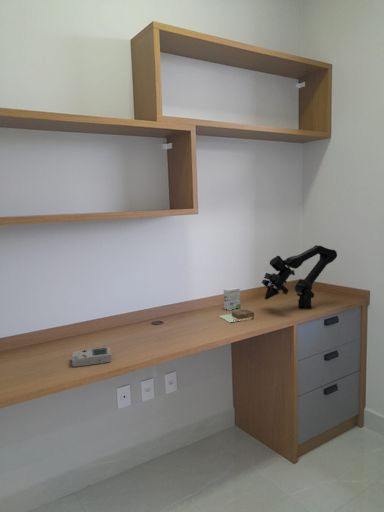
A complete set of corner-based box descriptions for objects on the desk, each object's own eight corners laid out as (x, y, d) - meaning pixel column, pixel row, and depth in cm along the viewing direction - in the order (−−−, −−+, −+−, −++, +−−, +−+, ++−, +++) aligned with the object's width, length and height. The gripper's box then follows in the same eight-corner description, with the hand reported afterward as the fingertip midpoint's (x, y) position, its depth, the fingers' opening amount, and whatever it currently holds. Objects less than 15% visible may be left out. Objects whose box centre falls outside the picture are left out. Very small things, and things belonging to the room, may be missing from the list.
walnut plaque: (246, 309, 208) (231, 311, 205) (253, 312, 200) (238, 314, 197) (246, 313, 208) (231, 315, 205) (254, 317, 200) (238, 319, 197)
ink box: (235, 306, 225) (235, 287, 224) (240, 308, 221) (240, 288, 219) (223, 309, 221) (223, 289, 219) (229, 310, 216) (228, 290, 215)
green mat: (242, 313, 210) (242, 312, 210) (254, 319, 197) (254, 318, 197) (218, 316, 206) (218, 315, 206) (230, 323, 193) (230, 322, 193)
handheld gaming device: (73, 360, 154) (72, 351, 153) (110, 354, 157) (109, 346, 157) (72, 368, 145) (71, 359, 144) (111, 363, 149) (110, 354, 148)
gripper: (264, 265, 215) (247, 286, 212) (282, 269, 197) (264, 293, 195) (276, 277, 218) (260, 298, 216) (295, 282, 201) (278, 306, 199)
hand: (265, 298), depth 206 cm, fingers closed
